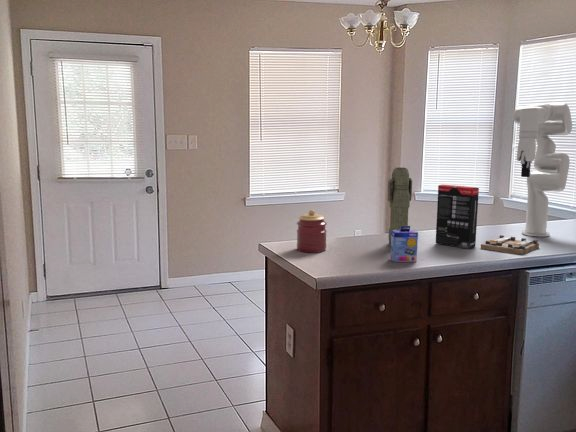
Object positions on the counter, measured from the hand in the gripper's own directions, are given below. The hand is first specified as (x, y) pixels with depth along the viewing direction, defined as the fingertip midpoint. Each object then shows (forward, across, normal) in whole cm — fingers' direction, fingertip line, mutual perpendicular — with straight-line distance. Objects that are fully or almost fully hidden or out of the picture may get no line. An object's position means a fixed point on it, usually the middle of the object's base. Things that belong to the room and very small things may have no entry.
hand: (525, 176), depth 252 cm
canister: (+31, +73, -63) cm, 101 cm away
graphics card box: (+31, +22, -21) cm, 44 cm away
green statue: (+31, +38, -41) cm, 64 cm away
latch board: (+31, +10, -1) cm, 33 cm away
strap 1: (+29, +10, -5) cm, 31 cm away
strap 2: (+29, +10, +4) cm, 31 cm away
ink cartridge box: (+31, +63, -23) cm, 74 cm away
